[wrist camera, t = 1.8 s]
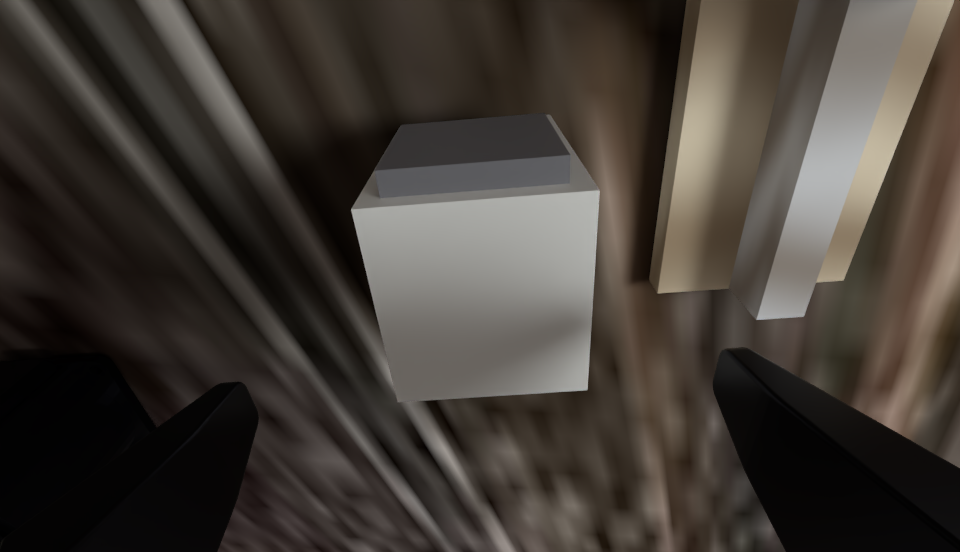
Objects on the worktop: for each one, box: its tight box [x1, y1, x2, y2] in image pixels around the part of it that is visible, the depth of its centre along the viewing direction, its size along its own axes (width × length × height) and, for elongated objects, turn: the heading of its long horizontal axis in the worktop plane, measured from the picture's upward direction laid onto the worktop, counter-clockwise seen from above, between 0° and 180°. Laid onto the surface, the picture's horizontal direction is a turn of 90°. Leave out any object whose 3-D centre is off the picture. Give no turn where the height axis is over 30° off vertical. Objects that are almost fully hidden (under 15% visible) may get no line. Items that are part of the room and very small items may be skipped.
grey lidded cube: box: [351, 113, 600, 402], centre depth 13 cm, size 6×5×7 cm
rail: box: [649, 0, 954, 320], centre depth 11 cm, size 16×7×7 cm, turn 4°
